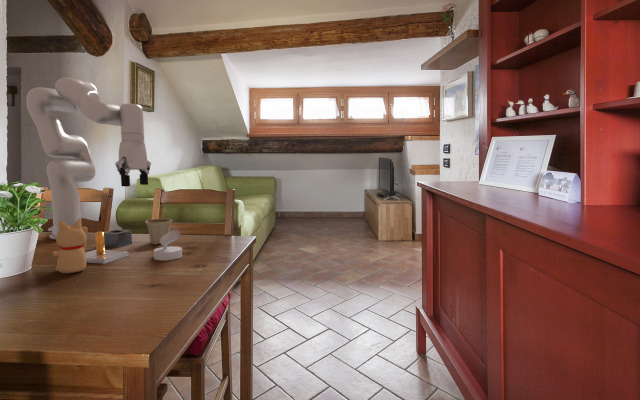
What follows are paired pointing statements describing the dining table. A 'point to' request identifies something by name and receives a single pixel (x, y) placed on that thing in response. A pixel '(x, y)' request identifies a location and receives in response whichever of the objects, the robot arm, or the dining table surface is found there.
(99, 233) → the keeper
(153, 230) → the flower pot
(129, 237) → the grey square box
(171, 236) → the wall hook
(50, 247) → the dining table surface
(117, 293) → the dining table surface
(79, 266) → the figurine
